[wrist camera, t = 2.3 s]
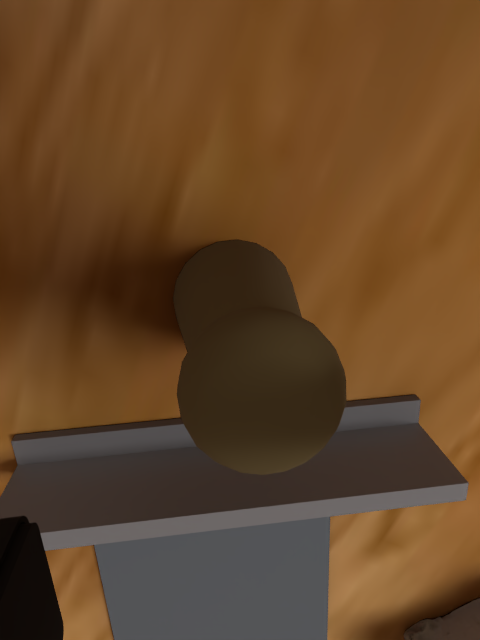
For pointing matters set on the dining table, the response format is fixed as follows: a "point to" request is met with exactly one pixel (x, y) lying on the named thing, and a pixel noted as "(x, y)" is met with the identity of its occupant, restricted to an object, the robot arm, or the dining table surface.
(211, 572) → the slate mat
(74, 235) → the dining table surface
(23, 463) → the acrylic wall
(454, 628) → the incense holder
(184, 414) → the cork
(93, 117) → the dining table surface
